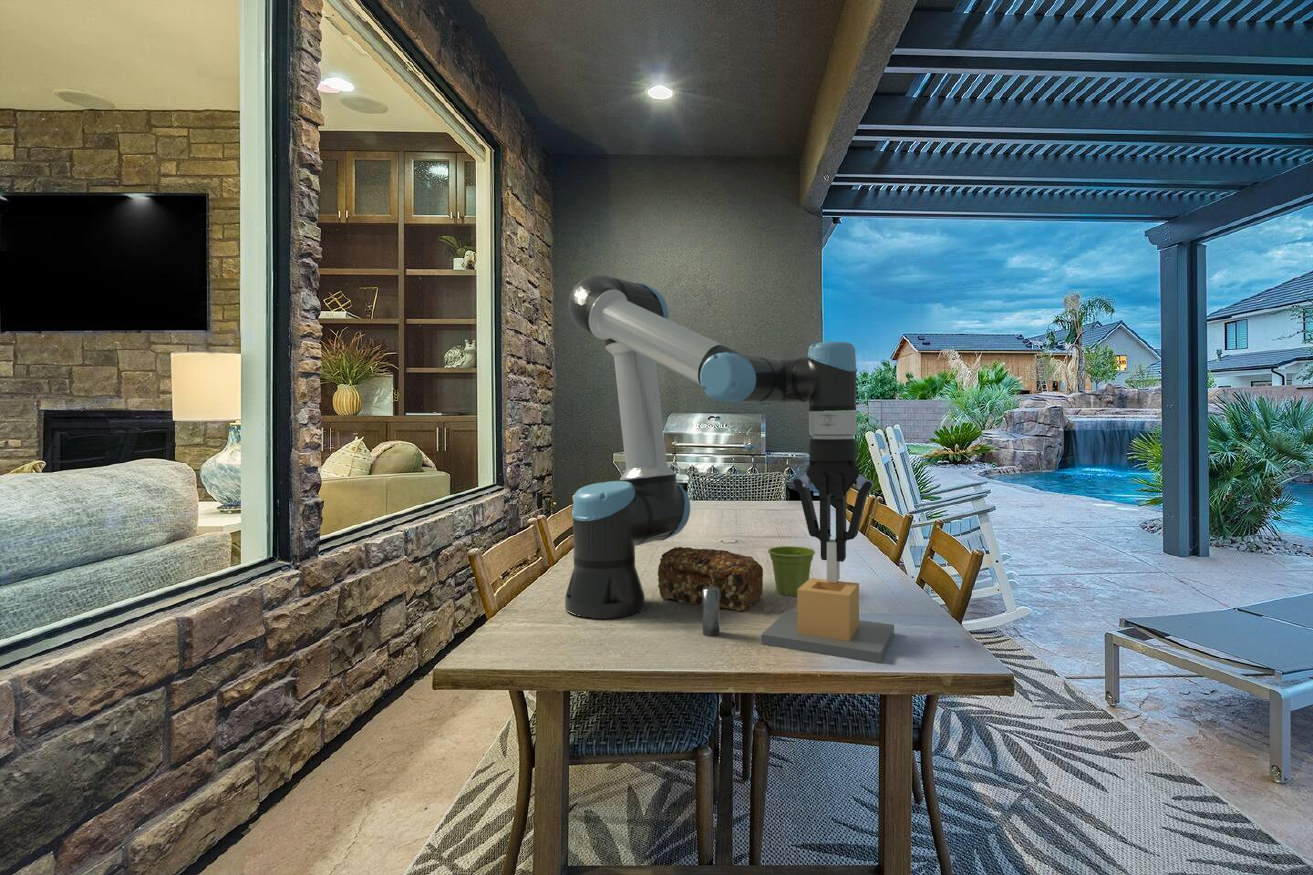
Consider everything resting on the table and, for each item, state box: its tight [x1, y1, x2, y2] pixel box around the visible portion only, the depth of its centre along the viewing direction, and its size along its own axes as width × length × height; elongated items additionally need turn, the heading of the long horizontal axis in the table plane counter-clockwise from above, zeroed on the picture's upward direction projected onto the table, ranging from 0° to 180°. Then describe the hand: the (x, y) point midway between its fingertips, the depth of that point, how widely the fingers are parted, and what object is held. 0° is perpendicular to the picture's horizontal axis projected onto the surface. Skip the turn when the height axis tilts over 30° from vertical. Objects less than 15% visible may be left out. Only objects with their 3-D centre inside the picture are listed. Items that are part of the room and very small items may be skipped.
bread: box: [657, 546, 764, 612], centre depth 125 cm, size 19×11×10 cm, turn 60°
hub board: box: [760, 610, 895, 664], centre depth 102 cm, size 18×14×8 cm
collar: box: [796, 577, 860, 641], centre depth 102 cm, size 8×8×7 cm
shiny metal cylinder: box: [701, 587, 721, 637], centre depth 106 cm, size 3×3×8 cm
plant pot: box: [767, 545, 816, 597], centre depth 130 cm, size 9×9×9 cm
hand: (833, 580), depth 105 cm, fingers closed
